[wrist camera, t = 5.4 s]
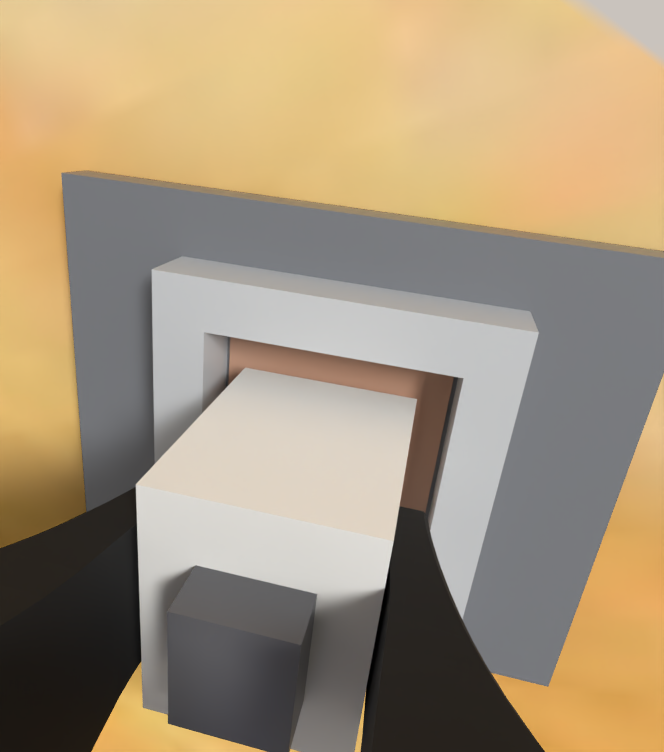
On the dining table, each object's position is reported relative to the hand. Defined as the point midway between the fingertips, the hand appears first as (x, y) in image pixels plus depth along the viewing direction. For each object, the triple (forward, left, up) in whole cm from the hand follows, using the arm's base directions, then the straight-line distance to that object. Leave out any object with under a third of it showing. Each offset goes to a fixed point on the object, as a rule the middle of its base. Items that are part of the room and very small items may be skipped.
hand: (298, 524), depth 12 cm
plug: (0, 0, -2) cm, 2 cm away
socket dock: (0, 0, -4) cm, 4 cm away
